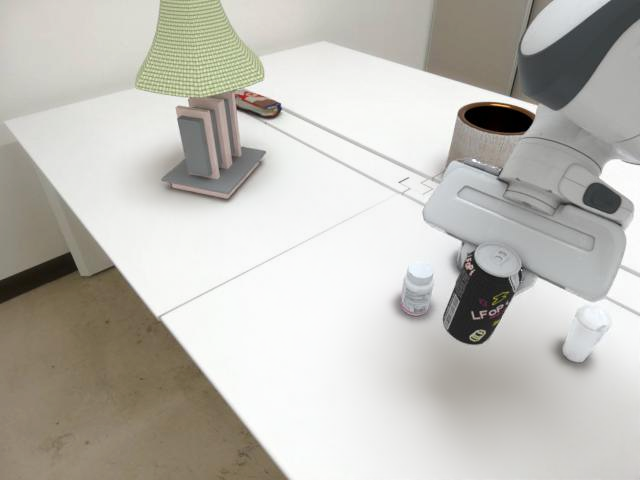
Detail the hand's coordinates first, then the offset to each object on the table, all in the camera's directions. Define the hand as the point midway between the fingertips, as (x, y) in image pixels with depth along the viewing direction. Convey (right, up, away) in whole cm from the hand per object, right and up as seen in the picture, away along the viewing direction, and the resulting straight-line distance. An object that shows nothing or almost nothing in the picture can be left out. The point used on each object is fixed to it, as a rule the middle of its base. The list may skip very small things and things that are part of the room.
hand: (480, 296), depth 49 cm
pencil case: (-37, +46, +90) cm, 108 cm away
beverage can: (0, -4, +5) cm, 6 cm away
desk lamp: (-42, +21, +60) cm, 76 cm away
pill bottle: (-1, -5, +28) cm, 28 cm away
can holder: (+13, +1, +35) cm, 37 cm away
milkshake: (+21, -12, +20) cm, 31 cm away
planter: (+21, +20, +59) cm, 66 cm away
